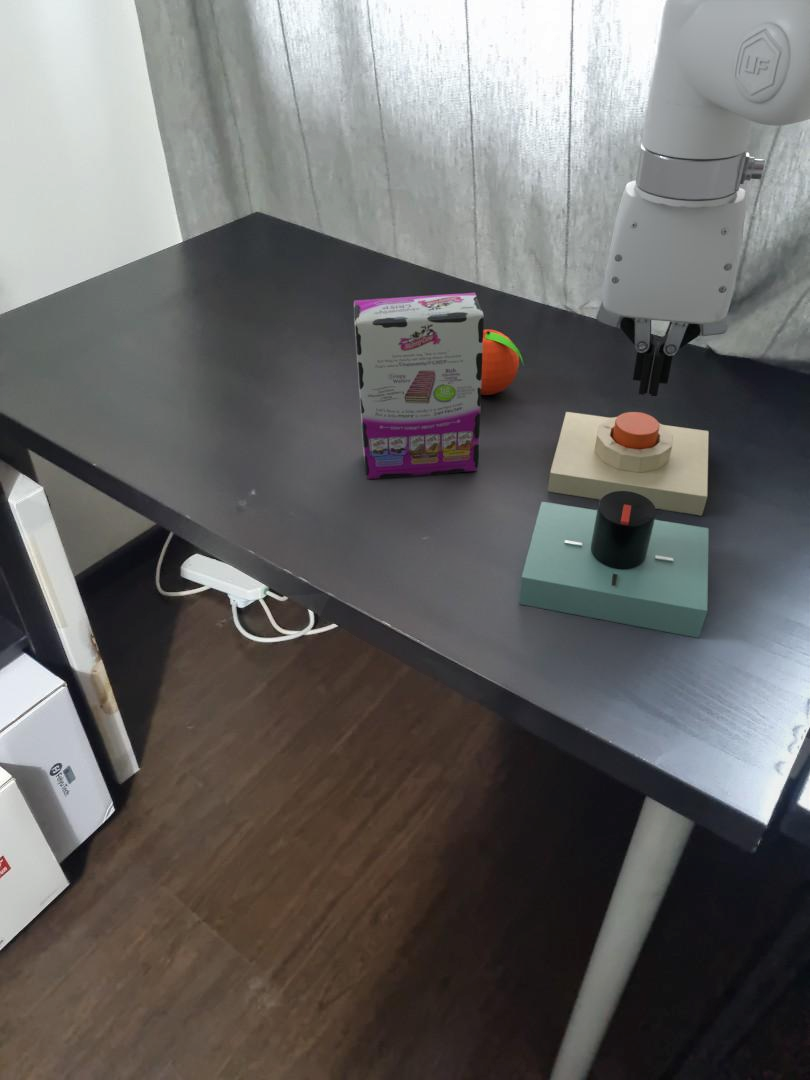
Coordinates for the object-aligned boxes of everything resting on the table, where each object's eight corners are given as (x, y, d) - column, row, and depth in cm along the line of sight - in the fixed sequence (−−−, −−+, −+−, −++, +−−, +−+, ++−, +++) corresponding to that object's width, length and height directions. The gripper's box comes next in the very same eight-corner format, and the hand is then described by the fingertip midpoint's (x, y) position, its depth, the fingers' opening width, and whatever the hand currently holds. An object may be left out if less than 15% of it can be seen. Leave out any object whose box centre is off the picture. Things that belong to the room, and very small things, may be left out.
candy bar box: (470, 444, 84) (478, 290, 73) (478, 473, 80) (487, 314, 70) (361, 451, 83) (352, 296, 73) (363, 480, 79) (355, 322, 69)
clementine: (536, 389, 92) (542, 330, 87) (504, 416, 88) (509, 356, 83) (475, 369, 96) (478, 311, 91) (442, 394, 91) (443, 335, 87)
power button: (657, 430, 79) (660, 414, 78) (654, 453, 76) (658, 437, 75) (614, 424, 80) (617, 409, 79) (610, 447, 77) (613, 431, 76)
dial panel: (701, 555, 71) (709, 526, 69) (698, 638, 63) (708, 609, 61) (538, 527, 74) (541, 499, 72) (518, 604, 67) (521, 575, 64)
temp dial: (594, 529, 69) (602, 483, 66) (648, 539, 68) (659, 492, 65) (587, 563, 66) (595, 516, 62) (643, 574, 65) (654, 527, 61)
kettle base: (703, 449, 83) (712, 415, 80) (702, 516, 75) (712, 480, 72) (563, 429, 86) (568, 396, 83) (547, 491, 78) (552, 456, 75)
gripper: (790, 163, 63) (735, 377, 75) (593, 153, 67) (570, 359, 78) (797, 194, 58) (736, 420, 70) (582, 181, 61) (558, 398, 73)
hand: (648, 387), depth 74 cm, fingers closed
